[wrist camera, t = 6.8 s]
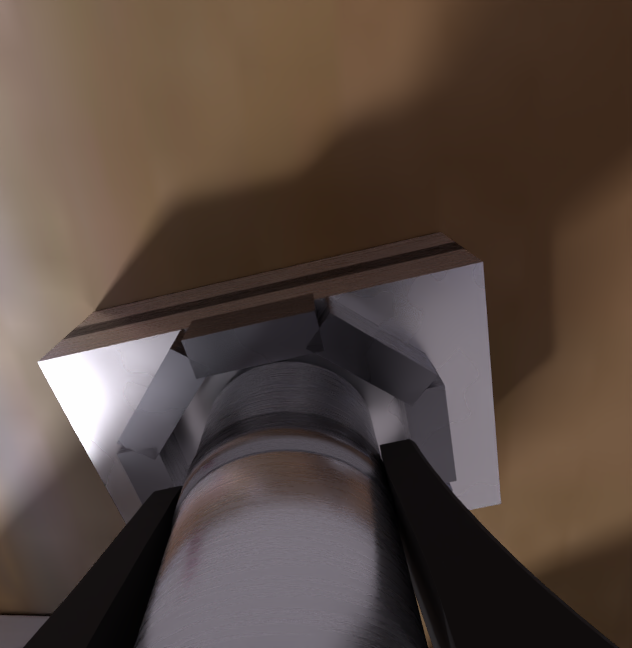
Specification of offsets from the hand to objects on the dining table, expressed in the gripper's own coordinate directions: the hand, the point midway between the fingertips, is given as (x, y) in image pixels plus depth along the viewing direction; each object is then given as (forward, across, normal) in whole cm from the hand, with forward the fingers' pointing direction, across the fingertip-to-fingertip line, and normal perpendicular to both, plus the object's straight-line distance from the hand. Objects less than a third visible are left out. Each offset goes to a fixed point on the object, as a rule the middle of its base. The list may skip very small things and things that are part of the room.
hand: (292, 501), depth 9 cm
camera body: (+5, 0, 0) cm, 5 cm away
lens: (+2, 0, 0) cm, 2 cm away
